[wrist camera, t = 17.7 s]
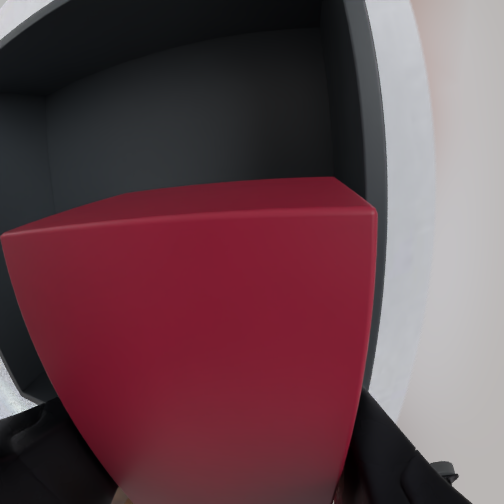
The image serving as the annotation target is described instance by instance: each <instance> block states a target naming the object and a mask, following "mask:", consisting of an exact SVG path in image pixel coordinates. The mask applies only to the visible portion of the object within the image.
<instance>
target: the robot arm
mask: <svg viewBox="0 0 504 504" xmlns="http://www.w3.org/2000/svg"><path fill="white" fill-rule="evenodd" d="M458 477H459V476H458V474H451V475H440V474H439V473H437V471H436V470H435V469H434V468H433V467H432V466H431V465H430V464H429V463H428V462H427V461H426V459H425V458H424V457H423V456H422V455H421V454H420V452H419V451H418V450H415V447H414V445H413V444H412V443H411V442H410V441H409V440H408V438H407V437H406V436H405V435H404V434H403V432H401V430H400V429H399V428H398V427H397V425H396V424H395V423H394V422H393V421H392V419H391V418H390V417H389V416H388V415H387V414H386V412H385V411H384V410H383V409H382V408H381V407H380V405H379V404H378V403H377V402H376V401H375V399H374V398H373V397H372V396H371V395H370V394H369V392H368V391H367V390H366V389H365V388H364V386H363V385H362V389H361V394H360V399H359V404H358V409H357V414H356V419H355V423H354V428H353V432H352V436H351V440H350V444H349V448H348V452H347V456H346V460H345V464H344V467H343V471H342V474H341V478H340V481H339V485H338V488H337V491H336V494H335V497H334V504H472V503H471V502H470V501H469V500H467V499H466V498H465V497H464V496H463V495H462V494H460V493H459V492H458V491H457V490H456V489H455V488H454V487H452V483H453V482H454V481H455V480H456V479H457V478H458ZM118 487H119V486H118V485H117V483H116V482H115V481H114V480H113V478H112V477H111V476H110V475H109V473H108V472H107V471H106V469H105V468H104V467H103V465H102V464H101V463H100V461H99V460H98V458H97V457H96V456H95V454H94V453H93V451H92V450H91V448H90V447H89V446H88V444H87V443H86V441H85V440H84V438H83V437H82V435H81V433H80V432H79V430H78V429H77V427H76V426H75V424H74V422H73V421H72V419H71V417H70V416H69V414H68V412H67V410H66V409H65V407H64V405H63V403H62V402H61V400H60V398H59V396H58V397H55V398H53V399H51V400H49V401H47V402H46V403H42V404H40V405H38V406H36V407H33V408H31V409H28V410H26V411H24V412H21V413H18V414H16V415H13V416H10V417H7V418H4V419H1V420H0V504H111V503H112V500H113V498H114V496H115V494H116V491H117V489H118Z"/></svg>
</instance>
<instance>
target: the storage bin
mask: <svg viewBox="0 0 504 504" xmlns="http://www.w3.org/2000/svg"><path fill="white" fill-rule="evenodd" d="M301 177H335V178H336V179H338V180H339V181H340V182H342V183H343V184H344V185H346V186H347V187H349V188H350V189H351V190H353V191H354V192H355V193H357V194H358V195H359V196H361V197H362V198H363V199H365V200H366V201H367V202H368V203H370V204H371V205H372V206H374V207H375V208H376V211H377V213H378V230H377V257H376V275H375V288H374V300H373V310H372V320H371V329H370V337H369V344H368V352H367V358H366V365H365V371H364V377H363V383H362V385H363V386H364V388H365V389H366V390H367V391H368V390H369V385H370V380H371V375H372V369H373V364H374V358H375V352H376V345H377V338H378V331H379V324H380V316H381V307H382V298H383V287H384V276H385V262H386V243H387V202H388V197H387V156H386V138H385V124H384V113H383V103H382V94H381V86H380V78H379V71H378V65H377V58H376V52H375V46H374V41H373V36H372V31H371V26H370V21H369V16H368V12H367V8H366V3H365V0H54V1H52V2H51V3H49V4H48V5H46V6H45V7H43V8H42V9H40V10H39V11H37V12H36V13H35V14H33V15H32V16H30V17H29V18H28V19H26V20H25V21H24V22H22V23H21V24H20V25H18V26H17V27H16V28H15V29H13V30H12V31H11V32H10V33H8V34H7V35H6V36H5V37H4V38H2V39H1V40H0V237H1V235H2V234H3V233H4V232H7V231H9V230H12V229H15V228H17V227H20V226H23V225H26V224H28V223H31V222H34V221H37V220H40V219H43V218H46V217H49V216H52V215H55V214H58V213H61V212H64V211H67V210H70V209H73V208H76V207H80V206H83V205H86V204H90V203H93V202H96V201H100V200H103V199H107V198H110V197H114V196H118V195H121V194H125V193H130V192H138V191H145V190H153V189H161V188H170V187H179V186H188V185H198V184H209V183H220V182H233V181H246V180H261V179H279V178H301ZM0 357H1V359H2V361H3V363H4V365H5V367H6V369H7V371H8V373H9V375H10V377H11V379H12V380H13V382H14V384H15V386H16V388H17V389H18V391H19V393H20V395H21V396H22V397H24V398H26V399H28V400H30V401H32V402H34V403H36V404H38V405H40V404H42V403H46V402H47V401H49V400H51V399H53V398H55V397H58V394H57V392H56V391H55V389H54V387H53V385H52V383H51V381H50V379H49V377H48V375H47V373H46V371H45V369H44V367H43V364H42V362H41V360H40V358H39V356H38V353H37V351H36V349H35V346H34V344H33V342H32V339H31V337H30V334H29V332H28V329H27V327H26V324H25V321H24V319H23V316H22V313H21V310H20V308H19V305H18V302H17V299H16V296H15V292H14V289H13V286H12V283H11V279H10V276H9V272H8V268H7V265H6V261H5V257H4V253H3V248H2V244H1V239H0Z"/></svg>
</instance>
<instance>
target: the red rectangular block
mask: <svg viewBox="0 0 504 504" xmlns="http://www.w3.org/2000/svg"><path fill="white" fill-rule="evenodd" d="M377 230H378V213H377V211H376V208H375V207H374V206H372V205H371V204H370V203H368V202H367V201H366V200H365V199H363V198H362V197H361V196H359V195H358V194H357V193H355V192H354V191H353V190H351V189H350V188H349V187H347V186H346V185H344V184H343V183H342V182H340V181H339V180H338V179H336V178H335V177H301V178H279V179H261V180H246V181H233V182H220V183H209V184H198V185H188V186H179V187H170V188H161V189H153V190H145V191H138V192H130V193H125V194H121V195H118V196H114V197H110V198H107V199H103V200H100V201H96V202H93V203H90V204H86V205H83V206H80V207H76V208H73V209H70V210H67V211H64V212H61V213H58V214H55V215H52V216H49V217H46V218H43V219H40V220H37V221H34V222H31V223H28V224H26V225H23V226H20V227H17V228H15V229H12V230H9V231H7V232H4V233H3V234H2V235H1V237H0V239H1V244H2V248H3V253H4V257H5V261H6V265H7V268H8V272H9V276H10V279H11V283H12V286H13V289H14V292H15V296H16V299H17V302H18V305H19V308H20V310H21V313H22V316H23V319H24V321H25V324H26V327H27V329H28V332H29V334H30V337H31V339H32V342H33V344H34V346H35V349H36V351H37V353H38V356H39V358H40V360H41V362H42V364H43V367H44V369H45V371H46V373H47V375H48V377H49V379H50V381H51V383H52V385H53V387H54V389H55V391H56V392H57V394H58V396H59V398H60V400H61V402H62V403H63V405H64V407H65V409H66V410H67V412H68V414H69V416H70V417H71V419H72V421H73V422H74V424H75V426H76V427H77V429H78V430H79V432H80V433H81V435H82V437H83V438H84V440H85V441H86V443H87V444H88V446H89V447H90V448H91V450H92V451H93V453H94V454H95V456H96V457H97V458H98V460H99V461H100V463H101V464H102V465H103V467H104V468H105V469H106V471H107V472H108V473H109V475H110V476H111V477H112V478H113V480H114V481H115V482H116V483H117V485H118V486H119V487H120V488H121V489H122V491H123V492H124V493H125V494H126V495H127V497H128V498H129V499H130V500H131V501H132V502H133V503H134V504H332V503H333V500H334V497H335V494H336V491H337V488H338V485H339V481H340V478H341V474H342V471H343V467H344V464H345V460H346V456H347V452H348V448H349V444H350V440H351V436H352V432H353V428H354V423H355V419H356V414H357V409H358V404H359V399H360V394H361V389H362V383H363V377H364V371H365V365H366V358H367V352H368V344H369V337H370V329H371V320H372V310H373V300H374V288H375V275H376V257H377Z"/></svg>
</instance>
